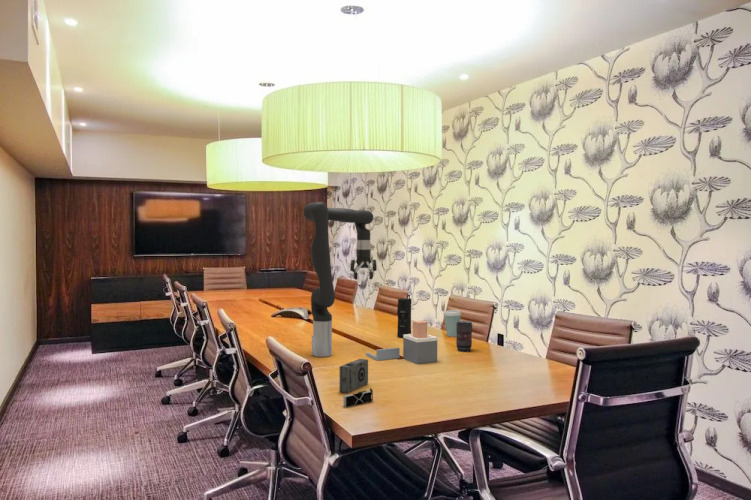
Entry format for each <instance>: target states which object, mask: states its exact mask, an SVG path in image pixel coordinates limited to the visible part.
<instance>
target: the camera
mask: <svg viewBox="0 0 751 500" xmlns="http://www.w3.org/2000/svg"><path fill="white" fill-rule="evenodd" d="M367 383H368V384H369V359H364V358H359V359H356V360H353V361H350V362H347V363H345V364H343V365H339V387H338V388H339V393H344V394H349V393H351V392H353V390H354V391H355V389H356V390H357V388H358V389H360V388H362V387H364V386H366V385H368V384H367ZM365 384H366V385H365ZM363 385H364V386H363ZM361 386H362V387H361ZM359 387H360V388H359Z"/></svg>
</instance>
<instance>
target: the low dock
mask: <svg viewBox="0 0 751 500" xmlns="http://www.w3.org/2000/svg"><path fill="white" fill-rule="evenodd" d="M400 350H401V349H400V347H391V348H389V347H388V348H382V349H376V351H375V352H376V355H374V354H372V353H371V352H368V351H367V352H365V356H366V357H368V358H370V359H373V360H375V361H377V362H378V361H386V360H387V361H388V360H396V359H397V360H398V359H400V357H401V356H400V352H401V351H400Z"/></svg>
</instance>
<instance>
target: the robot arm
mask: <svg viewBox="0 0 751 500" xmlns="http://www.w3.org/2000/svg"><path fill="white" fill-rule="evenodd" d="M302 211H303V216H304V218H305V219H306V220H307V221H309V222H314V229H315V231H314V236H313V239H312V242H311V247H310V257H311V258H310V259H311V264H312V267H313V270H314V271H315V273H316V275H317V278H318V283H319V287H316V288H314V289H313V290H312V293H311V296H310V306H311V307H310V308H311V309H310V310H311V312H310V313H311V315H312V335H311V355H312V356H313V357H315V358H318V357H319V358H320V357H321V358H322V357H323V358H325V357H330V356H332V355H333V315H332V314H331V312H329V309H328V308H331V307H332V306H333V305H334V303H335V301H336V299H335V298H336V293H335V289H334V288H335V287H334V282H333V277H332V276H333V275H332V266H331V251H330V238H329V221H334V222H341V223H348V224H354V226H355V230H356V247H355V248H356V249H355V250H356V251H355V252H356V259H351V260H350V267H349V268H350V270H349V271H350V272H352V273H353V279H354V280H356V281H357V280H358V278H359V277H358V274H359V273H358V271H360V269H368V271H369V273H368V279H369V280H373V278H374V272H377V271H378V270H377V259H371V258H372V257H371V255H372V253H371V251H372V249H371V246H372V244H371V230H370V229H369V228H367V227H366V225H369V224H371V223H373V220H374V214H373V213H372V212H371V211H369V210H363V209H362V210H360V209H353V208H352V209H351V208H344V207H342V208H340V207H338V208H337V207H328V206H327V204H326V203H324V202H323V201H317V202H315V201H314V202H310V203H307V204H306V205H305V206H304V208H303V210H302ZM355 264H356V266H355ZM371 264H372V265H371Z"/></svg>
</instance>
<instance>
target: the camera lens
mask: <svg viewBox="0 0 751 500" xmlns="http://www.w3.org/2000/svg"><path fill="white" fill-rule="evenodd" d="M456 332H457V337H456V341H455V344H456V348H457V351H458V352H462V353H463V352H464V353H465V352H466V353H467V352H471V350H472V349H471V348H472V347H473V346H472V344H473V342H472V341H473V340H472V339H473V338H472V336H473V335H472V334H473V322H472V321H469V320H460V321H457V323H456Z"/></svg>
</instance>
